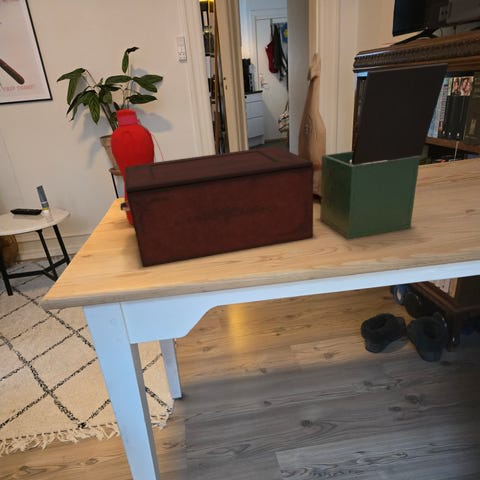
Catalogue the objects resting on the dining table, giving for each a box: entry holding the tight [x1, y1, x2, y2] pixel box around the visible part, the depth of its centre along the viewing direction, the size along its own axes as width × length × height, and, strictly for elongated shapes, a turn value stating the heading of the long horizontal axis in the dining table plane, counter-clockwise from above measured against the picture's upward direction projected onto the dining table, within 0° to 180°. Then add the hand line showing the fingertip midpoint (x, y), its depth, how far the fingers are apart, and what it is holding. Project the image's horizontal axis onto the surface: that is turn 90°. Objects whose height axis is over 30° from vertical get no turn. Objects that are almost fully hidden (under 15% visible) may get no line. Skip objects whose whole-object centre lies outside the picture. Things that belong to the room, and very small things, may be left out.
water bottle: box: [109, 108, 165, 226], centre depth 96 cm, size 9×11×25 cm
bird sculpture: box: [297, 52, 327, 198], centre depth 100 cm, size 11×12×32 cm
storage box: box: [119, 145, 314, 268], centre depth 86 cm, size 39×23×15 cm, turn 104°
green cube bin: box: [320, 150, 421, 240], centre depth 84 cm, size 14×14×14 cm
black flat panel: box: [351, 62, 450, 165], centre depth 69 cm, size 15×14×1 cm
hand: (439, 16), depth 56 cm, fingers closed
